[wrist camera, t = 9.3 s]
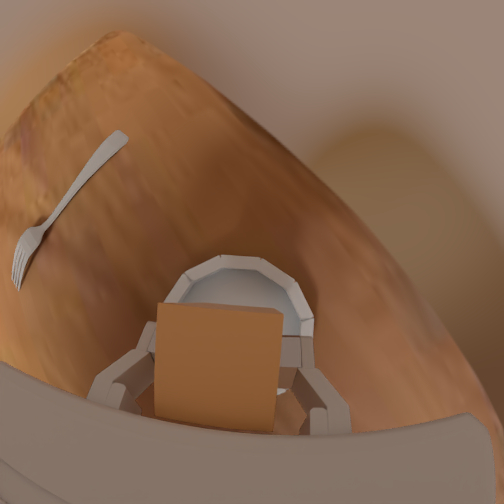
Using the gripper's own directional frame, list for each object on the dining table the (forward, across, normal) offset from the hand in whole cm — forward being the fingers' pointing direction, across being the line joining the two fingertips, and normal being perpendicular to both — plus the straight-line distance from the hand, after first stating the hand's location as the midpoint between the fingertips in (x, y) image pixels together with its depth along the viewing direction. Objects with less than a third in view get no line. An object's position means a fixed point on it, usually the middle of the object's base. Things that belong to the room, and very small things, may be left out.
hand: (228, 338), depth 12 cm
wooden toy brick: (+3, 0, +4) cm, 5 cm away
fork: (+13, +19, +1) cm, 23 cm away
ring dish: (+6, 0, +7) cm, 10 cm away
